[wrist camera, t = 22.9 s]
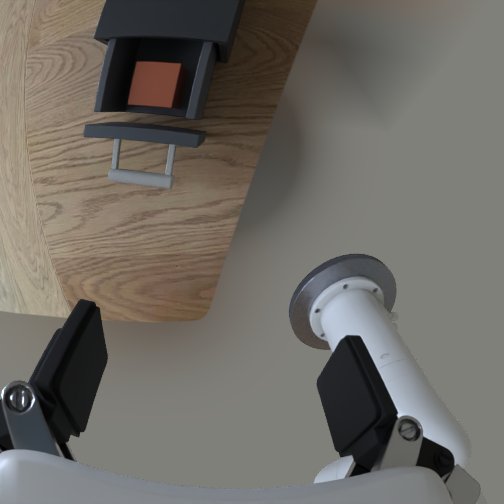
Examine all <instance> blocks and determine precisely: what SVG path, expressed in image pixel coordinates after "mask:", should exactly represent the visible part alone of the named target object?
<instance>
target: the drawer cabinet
mask: <svg viewBox="0 0 504 504" xmlns="http://www.w3.org/2000/svg"><path fill="white" fill-rule="evenodd" d="M245 1H246V0H106V2H105V5H104V8H103V10H102V13H101V16H100V19H99V22H98V25H97V28H96V31H95V34H94V39H96V40H98V41H100V42H102V43H104V44H106V45H108V43H109V40H110V39H116V38H169V39H185V40H196V41H205V42H213V43H219V51H218V55H217V59H216V62H220V63H228V61H229V57H230V53H231V49H232V45H233V42H234V38H235V35H236V31H237V27H238V24H239V21H240V17H241V14H242V11H243V7H244V4H245Z"/></svg>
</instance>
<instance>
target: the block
mask: <svg viewBox="0 0 504 504" xmlns="http://www.w3.org/2000/svg"><path fill="white" fill-rule="evenodd" d="M187 74H188V71H187V70H186V68H185V67H184V66H183V65H182V64H181V63H168V62H149V61H137V62H136V66H135V71H134V75H133V79H132V84H131V89H130V94H129V99H128V105H137V106H149V107H160V108H170V109H180V105H181V100H182V96H183V91H184V87H185V82H186V78H187Z"/></svg>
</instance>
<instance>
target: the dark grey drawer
mask: <svg viewBox="0 0 504 504" xmlns="http://www.w3.org/2000/svg"><path fill="white" fill-rule="evenodd" d="M218 51H219V43H213V42H205V41H196V40H185V39H169V38H116V39H110V40H109V43H108V47H107V51H106V54H105V58H104V62H103V67H102V71H101V76H100V80H99V85H98V90H97V96H96V101H95V107H94V112H135V113H149V114H160V115H169V116H178V117H186V118H187V119H195V120H202V119H203V114H204V109H205V105H206V100H207V96H208V91H209V87H210V83H211V79H212V75H213V71H214V67H215V63H216V59H217V55H218ZM137 61H149V62H168V63H181V64H182V65H183V66H184V67H185V68H186V70H187V71H188V74H187V78H186V82H185V87H184V91H183V96H182V100H181V105H180V109H170V108H160V107H149V106H137V105H128V99H129V94H130V89H131V84H132V79H133V75H134V71H135V66H136V62H137ZM205 136H206V131H200V130H193V129H186V128H179V127H170V126H161V125H152V124H140V123H127V122H107V123H97V124H89V125H85V129H84V137H95V138H111V139H115V140H114V149H113V159H112V168H111V169H110V170H109V173H108V180H109V181H114V182H122V183H130V184H138V185H146V186H153V187H160V188H167V189H171V188H172V185H173V179H174V177H173V175H172V169H173V163H174V156H175V150H176V145H180V146H187V147H194V148H197V147H198V146H199V145H201V144H202V143H203V142H204V141H205ZM121 139H125V140H136V141H146V142H155V143H164V144H170V146H169V152H168V158H167V165H166V172H165V174H158V173H151V172H143V171H134V170H126V169H117V168H118V165H119V155H120V146H121Z"/></svg>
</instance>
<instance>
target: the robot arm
mask: <svg viewBox="0 0 504 504" xmlns="http://www.w3.org/2000/svg"><path fill="white" fill-rule="evenodd" d="M383 305H384V295H383V292H382V290H381V288H380V287H379V286H378V285H377V283H376V282H374V281H373V280H372V279H369V278H366V277H360V276H358V277H349V278H345V279H342V280H340V281H337V282H335V283H334V284H332V285H330V286H329V287H328V288H326V289H325V290H324V291H323V292H322V293H321V294H320V295H319V296H318V297H317V299H316V300H315V302H314V303H313V305H312V308H311V311H310V318H309V320H310V324H311V327H312V330H313V332H314V333H315V334H316V335H317V336H318V337H319V338H321V339H323V340H325V341H328V343H329V346H330V348H331V351H332V353H333V354H332V356H331V357H330V359H329V361H328V362H327V364H326V366H325V367H324V369H323V371H322V372H321V374H320V376H319V377H318V379H317V388H318V391H319V394H320V398H321V402H322V405H323V409H324V412H325V416H326V419H327V423H328V426H329V430H330V433H331V436H332V440H333V444H334V447H335V450H336V451H337V452H339V455H340V457H343V458H341V459H339V460H337V461H335V462H333V463H331V464H329V465H327V466H326V467H324V468H323V469H322V470H321V471H320V472H319V473H318V475H317V476H316V478H315V481H314V484H306V485H299V486H288V487H276V488H259V489H257V488H256V489H225V488H205V487H193V486H183V485H175V484H167V483H161V482H154V481H149V480H144V479H139V478H134V477H129V476H125V475H121V474H117V473H113V472H109V471H105V470H101V469H98V468H95V467H91V466H88V465H85V464H82V463H78V462H77V460H76V458H75V457H74V455H73V453H72V451H71V449H70V447H69V444H68V441H69V438H70V435H73V436H76V437H79V436H80V432H84V431H85V429H86V426H87V422H88V419H89V415H90V412H91V409H92V405H93V402H94V399H95V396H96V393H97V390H98V387H99V384H100V381H101V378H102V375H103V372H104V369H105V367H106V364H107V359H108V355H107V349H106V344H105V339H104V333H103V327H102V320H101V314H100V308H99V307H97V306H96V304H95V302H92V301H88V300H84V299H80V300H79V301H78V303H77V304H76V306H75V308H74V309H73V311H72V312H71V314H70V316H69V317H68V319H67V321H66V323H65V324H64V326H63V328H60V329H58V330H57V331H56V332H55V334H54V335H53V337H52V339H51V340H50V342H49V344H48V346H47V348H46V350H45V351H44V353H43V355H42V357H41V359H40V360H39V362H38V364H37V366H36V368H35V370H34V372H33V374H32V376H31V378H30V380H29V382H28V383H26V382H25V381H13V382H11V383H9V384H8V385H7V386H5V388H4V390H3V391H2V395H1V400H0V504H487V502H486V500H485V498H484V496H483V494H482V492H481V488H480V485H479V483H478V482H477V481H476V480H475V479H474V478H473V477H472V476H471V475H470V474H469V473H467V472H466V471H465V470H464V467H465V466H466V465H467V463H468V461H469V458H470V455H471V442H470V439H469V436H468V434H467V432H466V431H465V429H464V428H463V426H462V425H461V423H460V422H459V421H458V420H457V418H456V417H455V416H454V415H453V414H452V412H451V411H450V410H449V409H448V407H447V406H446V405H445V403H444V402H443V401H442V399H441V398H440V397H439V395H438V394H437V392H436V391H435V389H434V388H433V386H432V385H431V383H430V382H429V380H428V378H427V377H426V375H425V374H424V372H423V370H422V369H421V367H420V366H419V364H418V362H417V361H416V359H415V358H414V356H413V355H412V353H411V351H410V349H409V348H408V346H407V345H406V343H405V342H404V340H403V338H402V337H401V336H400V334H399V332H398V331H397V324H396V323H392V322H391V321H396V320H397V318H398V314H397V313H395V312H388V311H387V310H386V308H385V307H384V306H383Z"/></svg>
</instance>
